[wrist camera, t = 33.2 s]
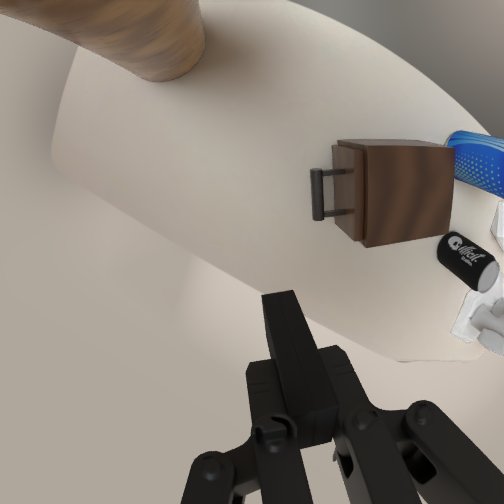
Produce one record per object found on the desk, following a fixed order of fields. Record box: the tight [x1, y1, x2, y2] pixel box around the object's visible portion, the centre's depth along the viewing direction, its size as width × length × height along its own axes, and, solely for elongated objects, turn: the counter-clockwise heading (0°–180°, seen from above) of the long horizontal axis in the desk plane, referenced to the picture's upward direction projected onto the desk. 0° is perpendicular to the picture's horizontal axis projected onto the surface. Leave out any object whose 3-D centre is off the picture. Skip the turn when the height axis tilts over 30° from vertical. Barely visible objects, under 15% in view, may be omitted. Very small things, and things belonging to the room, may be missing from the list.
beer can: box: [445, 131, 504, 199], centre depth 28 cm, size 8×8×16 cm
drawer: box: [310, 145, 365, 242], centre depth 32 cm, size 17×11×6 cm, turn 97°
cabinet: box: [337, 139, 455, 248], centre depth 33 cm, size 14×12×8 cm
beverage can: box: [437, 232, 500, 294], centre depth 37 cm, size 7×7×12 cm
